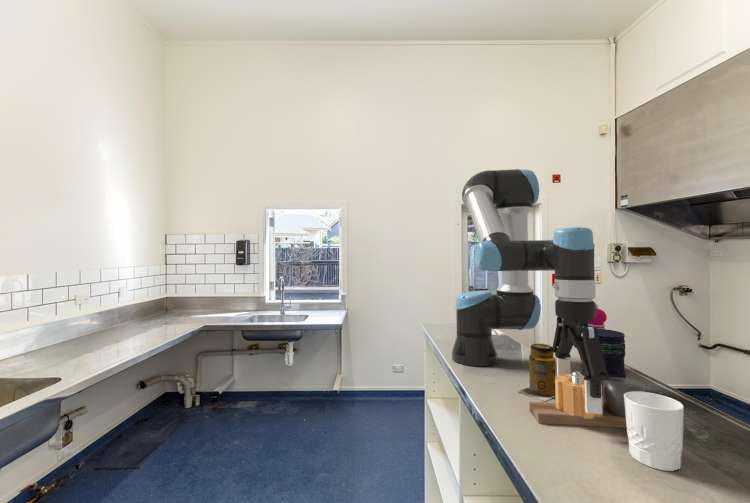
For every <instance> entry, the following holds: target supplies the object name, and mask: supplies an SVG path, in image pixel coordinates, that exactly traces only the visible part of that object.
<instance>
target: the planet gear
mask: <svg viewBox="0 0 750 503" xmlns="http://www.w3.org/2000/svg"><path fill="white" fill-rule="evenodd" d="M584 377H585V376H582V382H583V384H577V383H573V382H572V373H571V374H565V375H563V376H561V375H557V374H556V375H555V395H556V397H555V403H556V407H557V409H558V410H563V411H564V412H566V414H568V415H571V416H575V415H576V416H582V417H583V418H588V419H593V417H595V416H597V417H601V416H603V398H602V414H590V413H586V412H585V383H584V379H583V378H584ZM601 389H602V386H601Z"/></svg>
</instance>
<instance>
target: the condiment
mask: <svg viewBox="0 0 750 503" xmlns="http://www.w3.org/2000/svg"><path fill="white" fill-rule="evenodd" d="M552 347H553V345H550V344H546V343H532V344H531V345H530V351H529V356H528V359H529V360H528V364H529V368H528V370H529V371H528V373H529V387H526V388H523V389H520V390H517V392H519V393H521V394H523V395H526V396H528V397H531V398H532V399H537V400H539V401H542V402H546V401H549V400H551V399H553V398H556V396H555V376H557V373H556V357H555V356H554V355H555V353H553V351H552ZM553 396H554V397H553Z"/></svg>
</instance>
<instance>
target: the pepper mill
mask: <svg viewBox="0 0 750 503" xmlns="http://www.w3.org/2000/svg"><path fill="white" fill-rule="evenodd" d="M607 318H608V317H607V313H606V312H605V311H604V310H603V309H601V308H599V304H598V303H596V317H595V318H594V319H592V320H591V319H590V320H589V321H588V325H589V327H597V329H606V325H605V324H604V323H606V322H607Z"/></svg>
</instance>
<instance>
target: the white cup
mask: <svg viewBox="0 0 750 503" xmlns="http://www.w3.org/2000/svg"><path fill="white" fill-rule="evenodd" d="M624 403H625V416H626V425H627V428H626V433H627V438H628V450H629V451H628V452H629V454H630V456H631V457H632V458H633V459H634V460H636V461H637V462H639V463H640V464H642V465H645V466H647V467H649V468H653V469H656V470H660V471H666V472H675V471H674V470H676V471H678V470H677V469H679V470H680V469H681V468H682V452H683V444H684V410H685V409H684V404H683V403H681V401H678V400H677V399H674V398H672V397H669V396H666V395H662V394H659V393H654V392H649V391H648V392H647V391H644V392H641V391H631V392H626V393H625V394H624Z"/></svg>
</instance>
